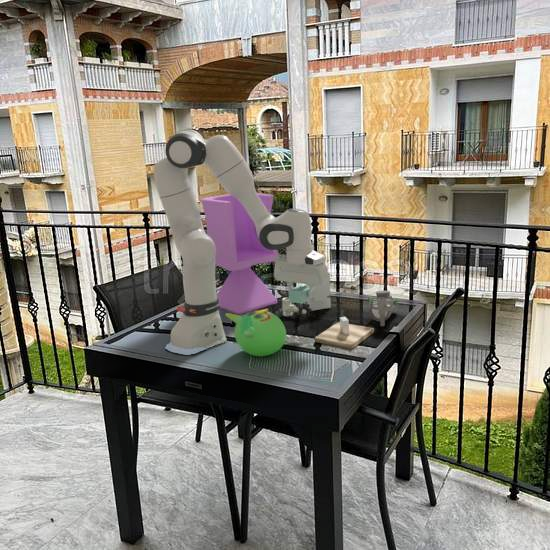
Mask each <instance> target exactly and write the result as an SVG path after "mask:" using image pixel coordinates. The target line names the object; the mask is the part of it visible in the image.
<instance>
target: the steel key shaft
mask: <svg viewBox="0 0 550 550" xmlns="http://www.w3.org/2000/svg"><path fill="white" fill-rule="evenodd" d="M349 321H350V320H349V319H348V318H347V316H341V317H340V316H339V322H340V331H341V333H342V334H343V335H349V324H350V323H349Z"/></svg>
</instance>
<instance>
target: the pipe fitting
mask: <svg viewBox="0 0 550 550" xmlns="http://www.w3.org/2000/svg"><path fill="white" fill-rule="evenodd" d="M375 295H376V299H375V300H374V301H377V300H378V298H381V297H383V298H392V299H395V298H393V296H392V295H391V291H390V290H378V291H375ZM395 301H397V300H396V299H395ZM387 303H388V302H387ZM388 305H389V303H388ZM374 306H378V305H374ZM398 308H399V303H398V302H397V305H395V308H394V309H392V310H391V311H386V314H385V321H386V320H388V319H389V318H390V317H391V315H393V314H395V312H397V310H398ZM368 311H369V312H368V314H369V315H370V317H371V318H372V319H373V320H375V321H376V322H380V314H379V310H376V309H371V308H370V307H369V306H368Z"/></svg>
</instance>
